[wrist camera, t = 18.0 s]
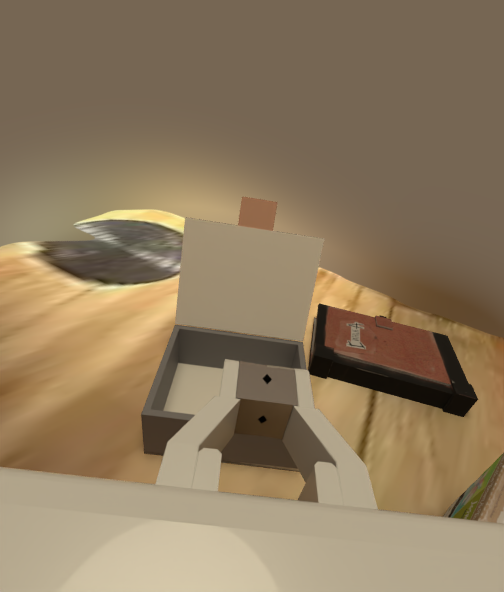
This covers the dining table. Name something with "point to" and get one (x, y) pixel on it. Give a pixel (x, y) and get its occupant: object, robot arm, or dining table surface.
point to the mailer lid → (247, 275)
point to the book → (389, 359)
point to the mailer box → (212, 389)
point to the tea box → (482, 497)
